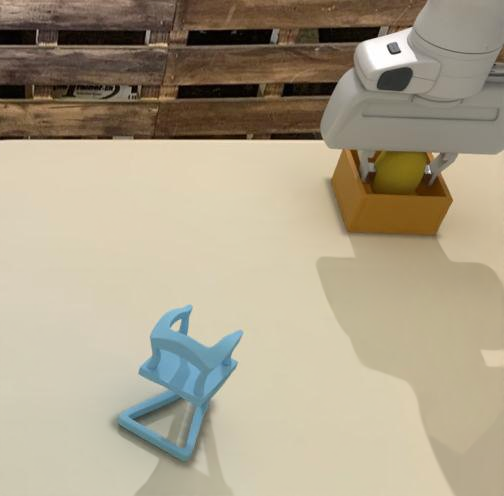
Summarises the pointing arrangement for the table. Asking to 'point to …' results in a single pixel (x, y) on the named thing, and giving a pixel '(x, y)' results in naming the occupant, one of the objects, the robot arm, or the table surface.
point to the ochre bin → (387, 202)
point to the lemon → (398, 172)
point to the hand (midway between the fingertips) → (392, 182)
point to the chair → (181, 376)
